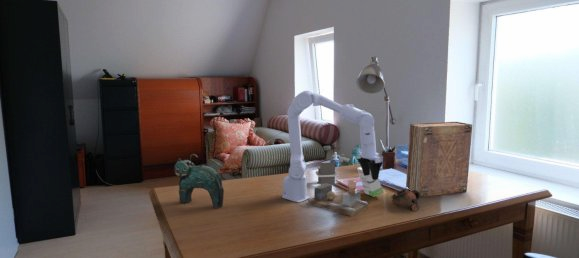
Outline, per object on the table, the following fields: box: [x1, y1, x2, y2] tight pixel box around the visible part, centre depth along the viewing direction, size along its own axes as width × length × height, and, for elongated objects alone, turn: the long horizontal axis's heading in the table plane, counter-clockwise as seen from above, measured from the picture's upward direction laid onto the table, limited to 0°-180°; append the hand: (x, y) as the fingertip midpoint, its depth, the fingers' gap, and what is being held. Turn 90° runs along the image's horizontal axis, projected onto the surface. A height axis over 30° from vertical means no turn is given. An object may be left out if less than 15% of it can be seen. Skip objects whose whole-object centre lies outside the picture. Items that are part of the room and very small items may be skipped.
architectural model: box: [315, 159, 339, 186], centre depth 177 cm, size 19×17×11 cm
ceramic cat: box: [173, 153, 225, 209], centre depth 148 cm, size 20×6×20 cm, turn 70°
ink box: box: [356, 166, 384, 198], centre depth 160 cm, size 9×5×12 cm, turn 13°
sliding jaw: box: [342, 179, 361, 208], centre depth 145 cm, size 3×8×9 cm, turn 140°
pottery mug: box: [391, 188, 421, 212], centre depth 149 cm, size 12×10×8 cm
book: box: [405, 121, 473, 198], centre depth 166 cm, size 25×9×30 cm, turn 109°
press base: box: [307, 183, 369, 217], centre depth 149 cm, size 20×12×6 cm, turn 50°
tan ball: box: [327, 190, 337, 200], centre depth 151 cm, size 4×4×4 cm
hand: (370, 177), depth 151 cm, fingers open, 7 cm apart
